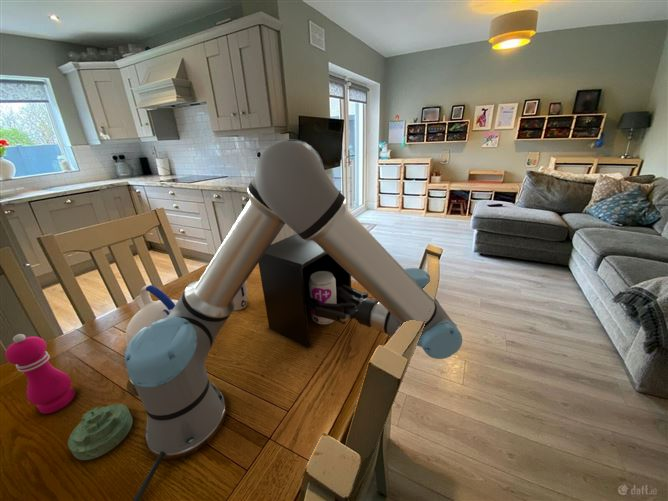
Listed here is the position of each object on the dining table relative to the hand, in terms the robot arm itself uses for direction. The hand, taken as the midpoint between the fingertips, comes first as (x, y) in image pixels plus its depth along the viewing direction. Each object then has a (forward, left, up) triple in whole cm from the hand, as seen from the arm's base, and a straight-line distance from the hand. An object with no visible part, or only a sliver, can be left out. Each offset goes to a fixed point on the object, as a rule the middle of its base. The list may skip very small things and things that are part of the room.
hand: (311, 292), depth 88 cm
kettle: (-17, +43, -10) cm, 47 cm away
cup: (+2, +29, -10) cm, 31 cm away
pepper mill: (-42, +51, -10) cm, 67 cm away
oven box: (0, 0, -10) cm, 10 cm away
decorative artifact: (-46, +32, -10) cm, 57 cm away
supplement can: (-2, -4, -8) cm, 9 cm away
